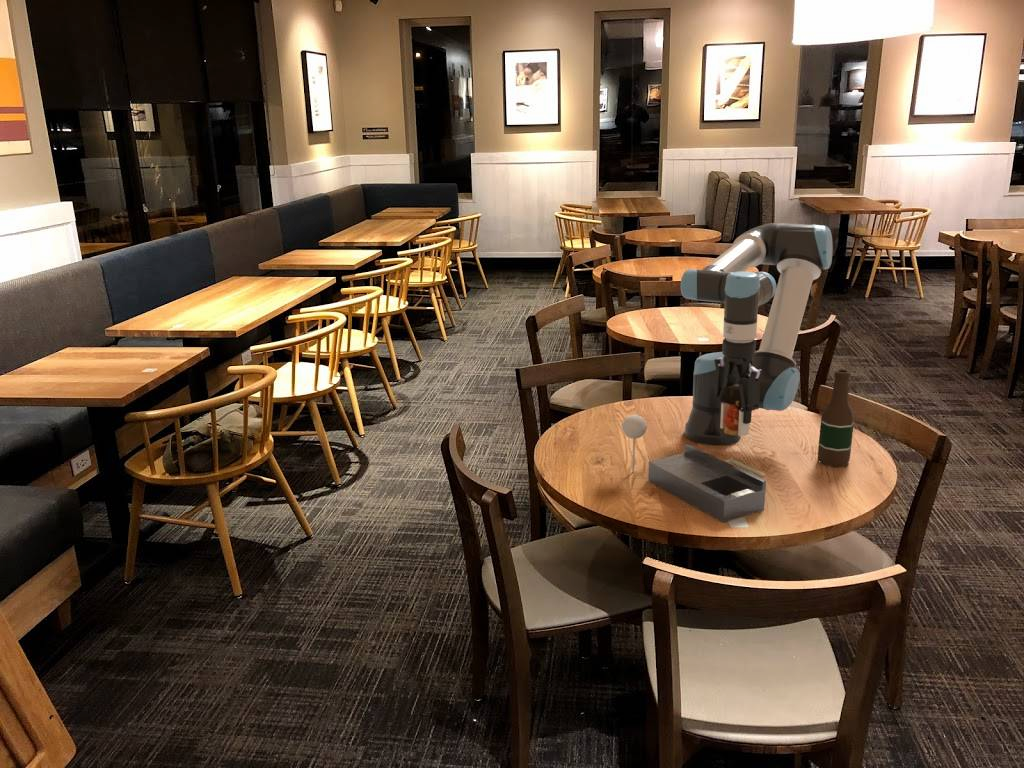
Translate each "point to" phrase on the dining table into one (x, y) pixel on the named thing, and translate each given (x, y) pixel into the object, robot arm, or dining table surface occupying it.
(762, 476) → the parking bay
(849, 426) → the beer bottle
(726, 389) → the figurine
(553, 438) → the dining table surface
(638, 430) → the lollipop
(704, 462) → the grey box with compartment
